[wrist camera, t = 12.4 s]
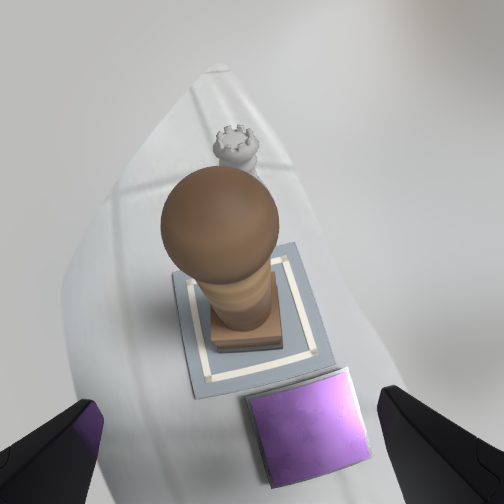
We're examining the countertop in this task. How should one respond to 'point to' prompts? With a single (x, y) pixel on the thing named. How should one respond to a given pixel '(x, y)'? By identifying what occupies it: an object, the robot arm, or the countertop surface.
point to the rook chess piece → (237, 149)
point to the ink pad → (309, 428)
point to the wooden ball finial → (228, 253)
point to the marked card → (259, 362)
